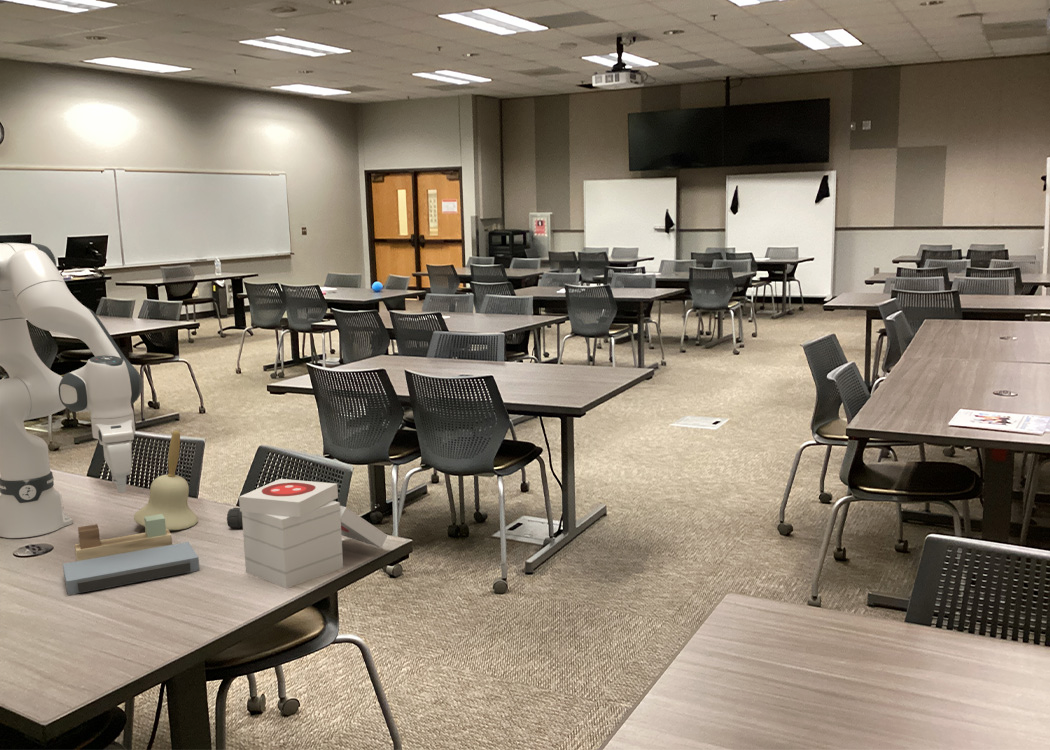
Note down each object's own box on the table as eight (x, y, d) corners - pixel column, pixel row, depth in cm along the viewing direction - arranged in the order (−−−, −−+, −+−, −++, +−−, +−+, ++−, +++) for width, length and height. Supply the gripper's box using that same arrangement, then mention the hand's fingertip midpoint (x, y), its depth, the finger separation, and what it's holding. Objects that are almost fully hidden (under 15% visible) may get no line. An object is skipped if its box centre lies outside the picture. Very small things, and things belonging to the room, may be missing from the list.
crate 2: (145, 533, 214) (144, 516, 213) (163, 530, 216) (162, 513, 215) (148, 537, 210) (146, 521, 210) (166, 534, 212) (164, 518, 212)
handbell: (146, 511, 240) (157, 419, 236) (204, 520, 240) (216, 428, 237) (123, 530, 224) (134, 432, 221) (185, 539, 225) (197, 442, 222)
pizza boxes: (393, 553, 209) (390, 476, 206) (282, 593, 186) (277, 508, 184) (341, 536, 221) (337, 464, 218) (231, 572, 199) (225, 492, 196)
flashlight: (225, 531, 227) (224, 510, 226) (234, 524, 233) (232, 504, 232) (285, 531, 226) (284, 510, 225) (292, 524, 231) (291, 504, 230)
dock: (64, 576, 198) (62, 563, 197) (189, 554, 211) (188, 541, 210) (68, 596, 187) (66, 583, 186) (200, 571, 199) (199, 558, 199)
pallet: (76, 561, 208) (74, 544, 207) (169, 545, 217) (167, 528, 217) (77, 567, 203) (76, 550, 203) (172, 551, 213) (171, 534, 212)
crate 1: (79, 544, 207) (77, 527, 206) (98, 540, 209) (97, 524, 208) (80, 549, 204) (79, 532, 203) (100, 545, 206) (98, 528, 205)
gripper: (94, 422, 213) (100, 480, 215) (102, 437, 195) (109, 499, 197) (123, 419, 216) (128, 475, 218) (134, 433, 198) (140, 495, 200)
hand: (119, 487), depth 208 cm, fingers open, 8 cm apart
